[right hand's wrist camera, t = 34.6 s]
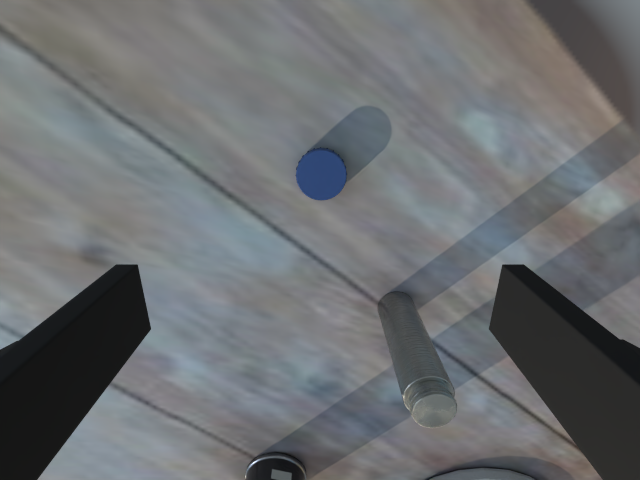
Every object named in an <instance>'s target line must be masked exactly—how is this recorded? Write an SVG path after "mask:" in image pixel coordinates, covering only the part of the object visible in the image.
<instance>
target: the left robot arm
mask: <svg viewBox="0 0 640 480" xmlns="http://www.w3.org/2000/svg"><path fill="white" fill-rule="evenodd" d="M245 480H306V470H305V468H304V466H303V465H302V463H301V462H300V461H298V460H297V459H296V458H294V457H292V456H289V455H286V454H282V453H268V454H264V455H261V456H258V457H256V458H255V459H253V460H252V461H251V462H250V463H249V465H248V467H247V470H246V475H245Z"/></svg>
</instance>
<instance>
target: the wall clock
mask: <svg viewBox="0 0 640 480" xmlns="http://www.w3.org/2000/svg"><path fill="white" fill-rule="evenodd" d="M429 480H535V479H533V478H532V477H530V476H527V475H524V474H520V473H517V472H514V471H511V470H504V469H492V468H477V469H466V470H458V471H454V472H451V473H447V474H443V475H440V476H436V477H433V478H431V479H429Z"/></svg>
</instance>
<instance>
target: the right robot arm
mask: <svg viewBox="0 0 640 480" xmlns="http://www.w3.org/2000/svg"><path fill="white" fill-rule="evenodd" d="M150 330H151V327H150V322H149V317H148V312H147V307H146V303H145V298H144V293H143V288H142V284H141V279H140V274H139V269H138V265H115V266H114V267H113V268H111V269H110V270H109V271H107V272H106V273H105V274H104V275H102V276H101V277H100V278H99V279H97V280H96V281H95V282H93V283H92V284H91V285H90V286H88V287H87V288H86V289H84V290H83V291H82V292H81V293H79V294H78V295H77V296H75V297H74V298H73V299H72V300H70V301H69V302H68V303H67V304H65V305H64V306H63V307H61V308H60V309H59V310H58V311H56V312H55V313H54V314H52V315H51V316H50V317H49V318H47V319H46V320H45V321H43V322H42V323H41V324H40V325H38V326H37V327H36V328H35V329H33V330H32V331H31V332H29V333H28V334H27V335H26V336H24V337H23V338H22V339H20V340H19V341H16V342H14V343H12V344H10V345H8V346H6V347H5V348H3V349H1V350H0V480H37V479H38V478H39V477H40V475H41V474H42V473H43V471H44V470H45V469H46V467H47V466H48V465H49V463H50V462H51V461H52V459H53V458H54V457H55V455H56V454H57V453H58V451H59V450H60V449H61V447H62V446H63V445H64V443H65V442H66V441H67V439H68V438H69V437H70V436H71V434H72V433H73V432H74V430H75V429H76V428H77V426H78V425H79V424H80V422H81V421H82V420H83V418H84V417H85V416H86V414H87V413H88V412H89V410H90V409H91V408H92V406H93V405H94V404H95V402H96V401H97V400H98V398H99V397H100V396H101V395H102V393H103V392H104V391H105V389H106V388H107V387H108V385H109V384H110V383H111V381H112V380H113V379H114V377H115V376H116V375H117V373H118V372H119V371H120V369H121V368H122V367H123V365H124V364H125V363H126V361H127V360H128V359H129V357H130V356H131V355H132V353H133V352H134V351H135V350H136V348H137V347H138V346H139V344H140V343H141V342H142V340H143V339H144V338H145V336H146V335H147V334H148V332H149V331H150ZM489 330H490V331H491V332H492V334H493V335H494V336H495V338H496V339H497V340H498V342H499V343H500V344H501V346H502V347H503V348H504V350H505V351H506V352H507V353H508V355H509V356H510V357H511V359H512V360H513V361H514V363H515V364H516V365H517V367H518V368H519V369H520V371H521V372H522V373H523V375H524V376H525V377H526V379H527V380H528V381H529V383H530V384H531V385H532V387H533V388H534V389H535V391H536V392H537V393H538V395H539V396H540V397H541V398H542V400H543V401H544V402H545V404H546V405H547V406H548V408H549V409H550V410H551V412H552V413H553V414H554V416H555V417H556V418H557V420H558V421H559V422H560V424H561V425H562V426H563V428H564V429H565V430H566V432H567V433H568V434H569V436H570V437H571V438H572V439H573V441H574V442H575V443H576V445H577V446H578V447H579V449H580V450H581V451H582V453H583V454H584V455H585V457H586V458H587V459H588V461H589V462H590V463H591V465H592V466H593V467H594V469H595V470H596V471H597V473H598V474H599V475H600V477H601V478H602V479H603V480H640V348H638V347H636V346H635V345H633V344H631V343H629V342H627V341H625V340H620V339H618V338H617V337H616V336H614V335H613V334H612V333H611V332H609V331H608V330H607V329H605V328H604V327H603V326H602V325H600V324H599V323H598V322H597V321H595V320H594V319H593V318H591V317H590V316H589V315H588V314H586V313H585V312H584V311H582V310H581V309H580V308H579V307H577V306H576V305H575V304H573V303H572V302H571V301H570V300H568V299H567V298H566V297H565V296H563V295H562V294H561V293H559V292H558V291H557V290H556V289H554V288H553V287H552V286H550V285H549V284H548V283H547V282H545V281H544V280H543V279H541V278H540V277H539V276H538V275H536V274H535V273H534V272H533V271H531V270H530V269H529V268H527V267H526V266H525V265H502V269H501V274H500V279H499V284H498V288H497V293H496V298H495V303H494V307H493V312H492V317H491V322H490V327H489Z"/></svg>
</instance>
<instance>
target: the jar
mask: <svg viewBox="0 0 640 480" xmlns="http://www.w3.org/2000/svg"><path fill="white" fill-rule="evenodd" d="M378 313H379V316H380V320H381V323H382V327H383V330H384V334H385V337H386V341H387V344H388V348H389V352H390V355H391V359H392V362H393V366H394V369H395V373H396V376H397V380H398V383H399V387H400V391H401V394H402V398H403V401H404V404H405V406H406V407H407V408H408V409H409V410H410V413H411V415H412V416H413V418H414V420H415V421H416V422H417V423H418V424H420V425H422V426H424V427H430V428H434V427H440V426H443V425H445V424H447V423H449V422H450V421H451V420H452V419H453V418H454V416H455V414H456V411H457V403H456V400H455V398H454V396H455V392H454V388H453V386H452V383H451V381H450V379H449V377H448V375H447V373H446V371H445V369H444V367H443V364H442V362H441V360H440V358H439V356H438V354H437V352H436V350H435V347H434V345H433V343H432V341H431V339H430V337H429V335H428V333H427V331H426V328H425V326H424V324H423V322H422V320H421V318H420V316H419V314H418V312H417V309H416V307H415V305H414V303H413V301H412V299H411V298H410V297H409V296H408V295H407V294H405V293H402V292H392V293H389V294H387V295H385V296H384V297H383V298H382V299H381V300H380V302H379V304H378Z"/></svg>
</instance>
